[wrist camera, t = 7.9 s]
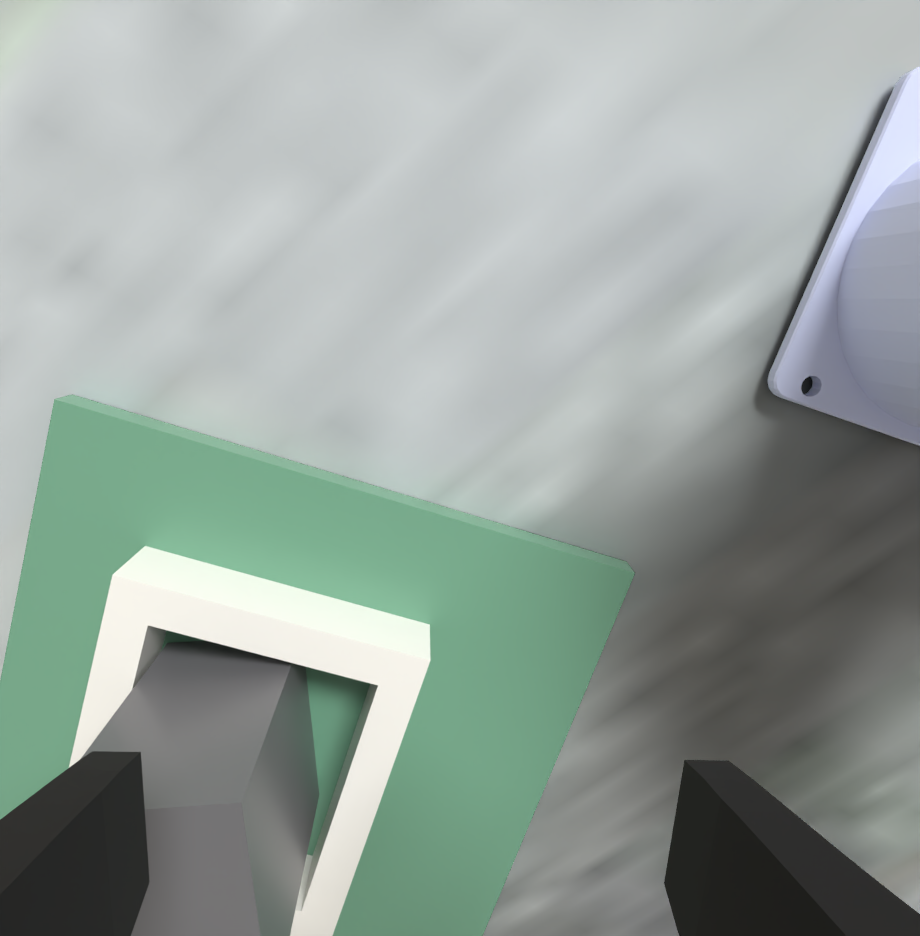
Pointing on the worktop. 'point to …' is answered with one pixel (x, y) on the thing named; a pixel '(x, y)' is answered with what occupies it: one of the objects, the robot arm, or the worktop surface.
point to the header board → (313, 649)
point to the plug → (220, 788)
